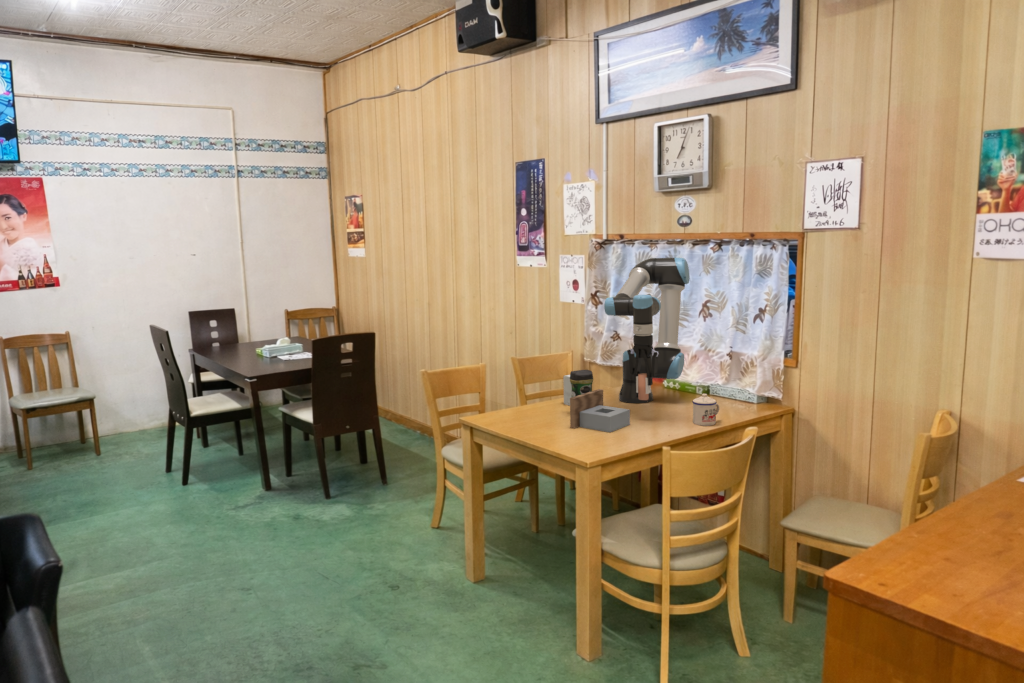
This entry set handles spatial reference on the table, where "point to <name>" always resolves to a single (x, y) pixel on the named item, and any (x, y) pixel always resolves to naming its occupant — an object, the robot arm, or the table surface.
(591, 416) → the socket block
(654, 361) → the robot arm
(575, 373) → the coffee jar
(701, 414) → the teacup with lid
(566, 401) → the small box
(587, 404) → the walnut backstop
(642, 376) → the dowel
